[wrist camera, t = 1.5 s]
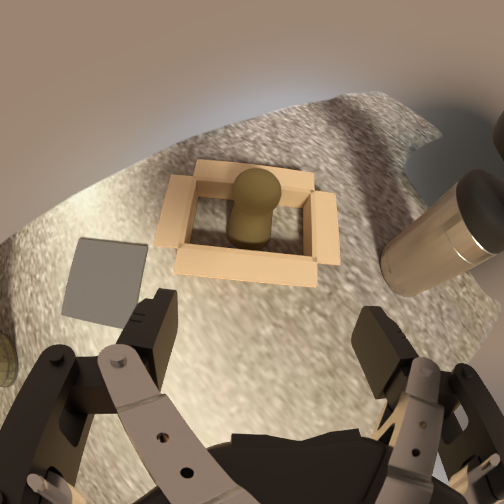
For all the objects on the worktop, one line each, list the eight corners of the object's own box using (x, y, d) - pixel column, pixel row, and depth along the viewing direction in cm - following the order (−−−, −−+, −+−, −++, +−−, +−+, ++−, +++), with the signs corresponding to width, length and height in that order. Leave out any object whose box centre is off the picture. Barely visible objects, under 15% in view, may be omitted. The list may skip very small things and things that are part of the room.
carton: (324, 191, 41) (333, 176, 37) (329, 296, 35) (341, 288, 31) (179, 174, 39) (176, 157, 36) (156, 279, 33) (148, 269, 30)
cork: (228, 253, 36) (231, 210, 25) (223, 212, 38) (225, 160, 28) (274, 249, 36) (294, 205, 26) (267, 209, 39) (282, 158, 28)
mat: (148, 247, 35) (147, 246, 34) (133, 330, 30) (132, 330, 30) (80, 240, 34) (78, 238, 33) (63, 315, 30) (61, 314, 29)
